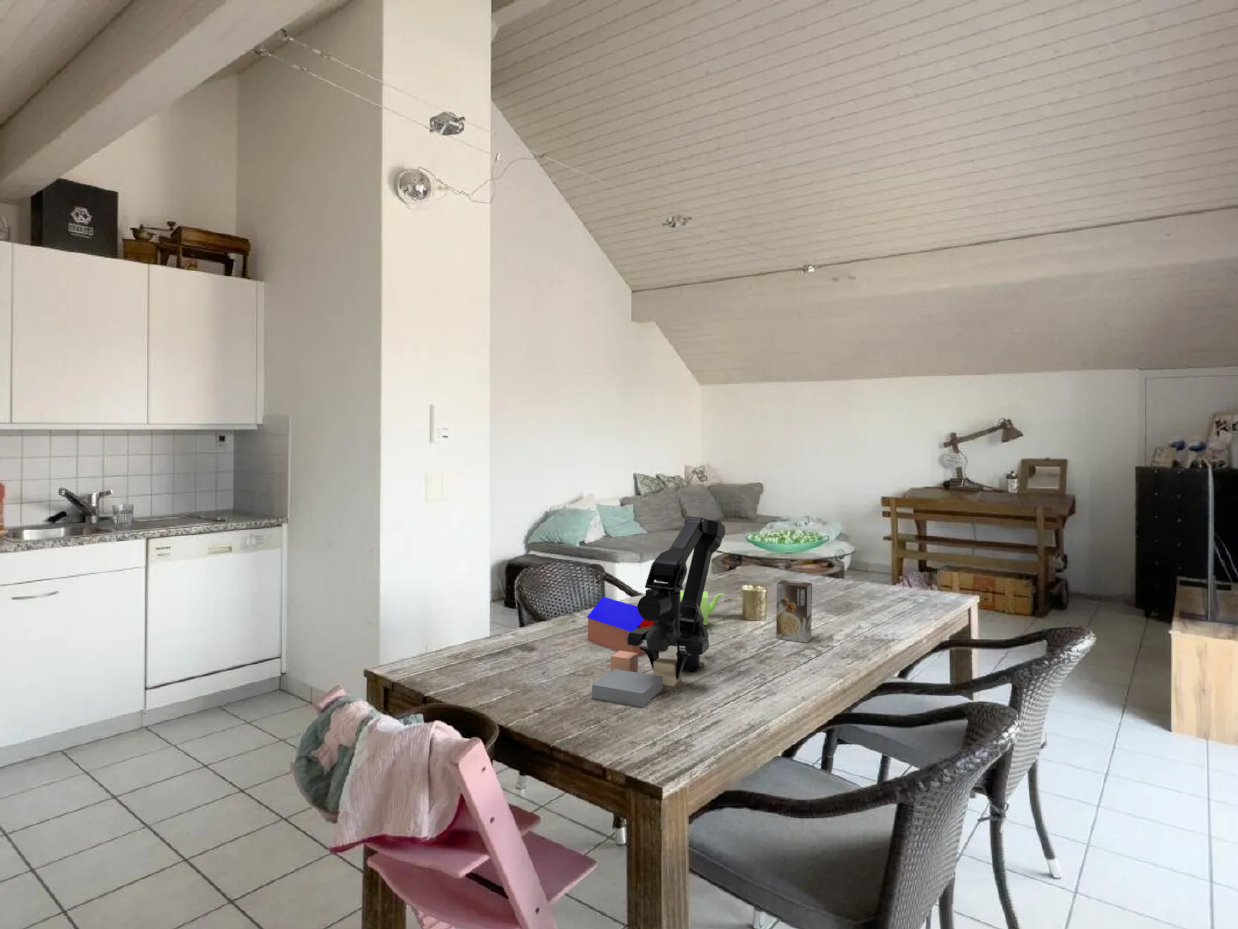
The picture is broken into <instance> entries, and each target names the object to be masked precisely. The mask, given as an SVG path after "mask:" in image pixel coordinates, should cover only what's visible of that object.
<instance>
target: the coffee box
mask: <svg viewBox="0 0 1238 929" xmlns="http://www.w3.org/2000/svg"><path fill="white" fill-rule="evenodd" d="M812 592H813V583H812V582H804V581H796V580H786V579H781V580H779V581H778V583H777V584H776V613H775V614H776V618H775V619H776V623H775V624H776V627H775V629H776V630H775V631H776V635H775V636H776V637H775V639H777V640H783V641H793V642H799V643H806V644H807V643H809V641H810V640H811V639H812V622H813V621H812V619H813V618H812V614H813V613H812V611H813V610H812V608H813V607H812V606H813V604H812V602H813V593H812Z"/></svg>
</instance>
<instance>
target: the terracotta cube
mask: <svg viewBox="0 0 1238 929" xmlns="http://www.w3.org/2000/svg"><path fill="white" fill-rule="evenodd" d="M614 669H619V670H625V671H631V672H638V673H639V671H638V670H639V655H638V653H633V652H626V651H617V652H615V653H613V654H611V655H610V672H611V671H613V670H614ZM610 672H609V673H610Z"/></svg>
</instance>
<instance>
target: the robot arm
mask: <svg viewBox="0 0 1238 929" xmlns="http://www.w3.org/2000/svg"><path fill="white" fill-rule="evenodd" d="M683 524H684V525H683V526H682V527H681V530H680V531H679V533H678V535H677V536H676V537H675V539H674V541H673V543H672V544H671V546H670V548H669V549H667V550H665V551H662V552H660V553H659V554H658V556H657V557H656V558H655V559H654V560H653V562H652V563H651V566H650V570H649V572H648V576H647V578H646V582H645V585H644V588H645V589H646V590H645V594H644V596H642V597H640V598H639V600H638V603H637V605H636V606H637V608H638V612H639V614H640V616H641V617H642V618H643V619H645V620H647V621H653V626H652V628H651V629H650V630H648V629H640V628H636V629H634V630H633V631H631V632H630V633H629V634H628V635H627V644H628V645H633V646H639V645H640V644H641V647H639V648H640V650H643V651H644V652H645V654H646V655H647V657H648V660H649V662H650V665H651V669H652V670H653V662H654V661H656V660H657V659H658V658H659V657H660V653H663V652H667V651H668V650H669V647H676V652H675V654H676V658H677V667H676V679H679V677H680V675H682V672H683V671H688V672H689V671H690V672H698V671H699V670H700V669H702V667H703V666H704V665H705V662H703V661H700V660H701V659H700V656H701V655H703V654H704V653H705V654H706V652H707V651H708V650H709V649H710V641H709V633H708V631H707V628H706V625H704V624H703V622H704V617H703V614H702V611H701V609H700V605H701V601H702V596H703V592H704V591H705V587H706V582H707V577H708V574H709V569H710V564H711V560H712V556H713V554H714V553H715V552H716V551H717V550H718V549H719V548H720V547H721V544H722V541H723V539H724V537H725V536H726V526H725V525H724V524H723V523H722V521H721V519H720V520H719V519H717V520H716V519H707V518H704V517H702V516H689V517H685V519H684V523H683ZM691 554H692V555H691ZM690 556H692V557H691V560H690V565H689V570H688V568H687V564H686V563H687V561H688V559H689V557H690ZM687 573H688V574H687ZM685 579H686V582H685V585H684V586H683V584H684V581H685ZM683 589H684V590H683ZM680 591H684V594H683V598H682V601H681V602H680Z"/></svg>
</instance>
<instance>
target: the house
mask: <svg viewBox="0 0 1238 929" xmlns="http://www.w3.org/2000/svg"><path fill="white" fill-rule="evenodd" d="M637 606H638V605H633V604H630V603H626V602H624V601H623V602H622V601H619V600H617V599H613V598H609V597H606V596H602V598H601V599H600V600H599V601H598V603H597V604H596V605H595V606H594V608H593V609H592V610H591V611H590V612H589V613H588V615H587V616H586V618H587V640H588V641H590V642H593V643H595V644H597V645H601V646H604V647H606V648H609V649H611V650H615V651H617V652H618V651H626V652H633V653H638V656H641V655H644V654H646V653H645V652H644V651H643V650H640V648H639V647H641V644H640V645H639V646H633V645H628V644H627V635H628V634H629V633H630V632H631V631H633V630H634V629H636V628H640V629H648V630H650V629H651V628H652V626H653V621H647V620H645V619H643V618H642V617H641V616H640V614H639V612H638V608H637Z"/></svg>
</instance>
